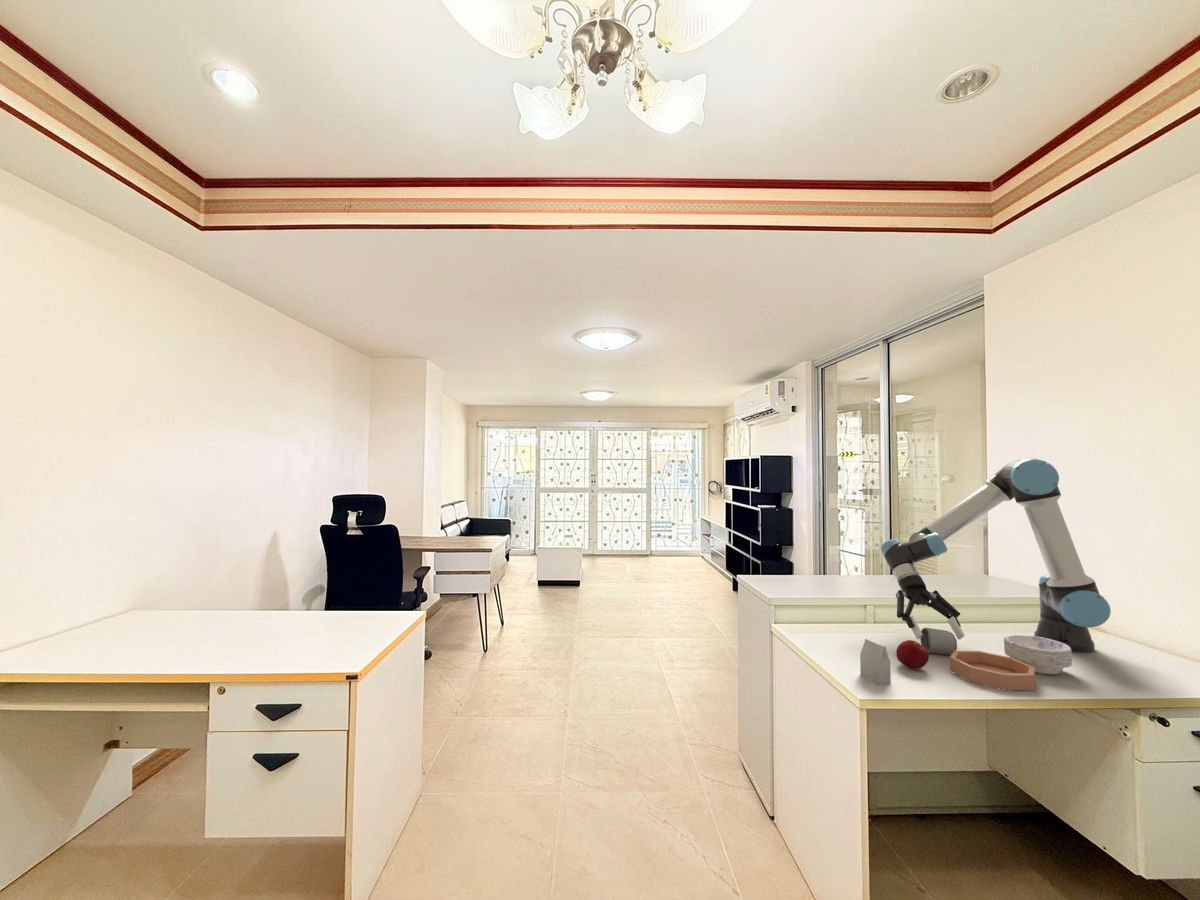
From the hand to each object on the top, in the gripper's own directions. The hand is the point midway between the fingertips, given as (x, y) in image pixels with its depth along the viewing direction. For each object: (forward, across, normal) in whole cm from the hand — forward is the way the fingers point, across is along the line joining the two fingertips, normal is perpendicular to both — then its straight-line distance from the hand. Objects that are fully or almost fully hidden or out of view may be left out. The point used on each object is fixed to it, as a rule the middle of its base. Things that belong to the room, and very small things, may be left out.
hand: (940, 637), depth 158 cm
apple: (+12, +17, +4) cm, 21 cm away
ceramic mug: (+2, 0, -6) cm, 7 cm away
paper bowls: (+12, -21, +4) cm, 25 cm away
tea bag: (+18, +33, +10) cm, 38 cm away
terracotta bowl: (+16, -2, +8) cm, 18 cm away
